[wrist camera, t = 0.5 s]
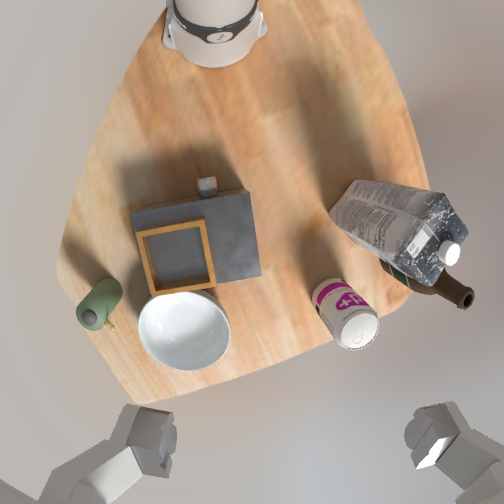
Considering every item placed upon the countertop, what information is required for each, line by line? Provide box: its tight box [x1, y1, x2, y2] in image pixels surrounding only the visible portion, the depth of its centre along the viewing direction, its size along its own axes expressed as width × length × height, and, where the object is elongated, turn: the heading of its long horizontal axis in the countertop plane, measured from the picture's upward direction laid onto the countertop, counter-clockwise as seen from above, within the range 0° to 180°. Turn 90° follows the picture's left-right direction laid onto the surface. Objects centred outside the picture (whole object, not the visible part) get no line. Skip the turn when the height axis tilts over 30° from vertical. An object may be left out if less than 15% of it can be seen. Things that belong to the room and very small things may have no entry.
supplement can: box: [312, 278, 379, 350], centre depth 52 cm, size 8×8×15 cm
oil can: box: [76, 277, 123, 331], centre depth 49 cm, size 8×6×12 cm
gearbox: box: [130, 176, 262, 297], centre depth 47 cm, size 16×18×11 cm
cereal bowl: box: [138, 289, 231, 371], centre depth 54 cm, size 17×17×7 cm
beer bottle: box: [380, 259, 475, 310], centre depth 47 cm, size 8×8×24 cm
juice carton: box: [329, 180, 468, 286], centre depth 42 cm, size 9×10×27 cm
